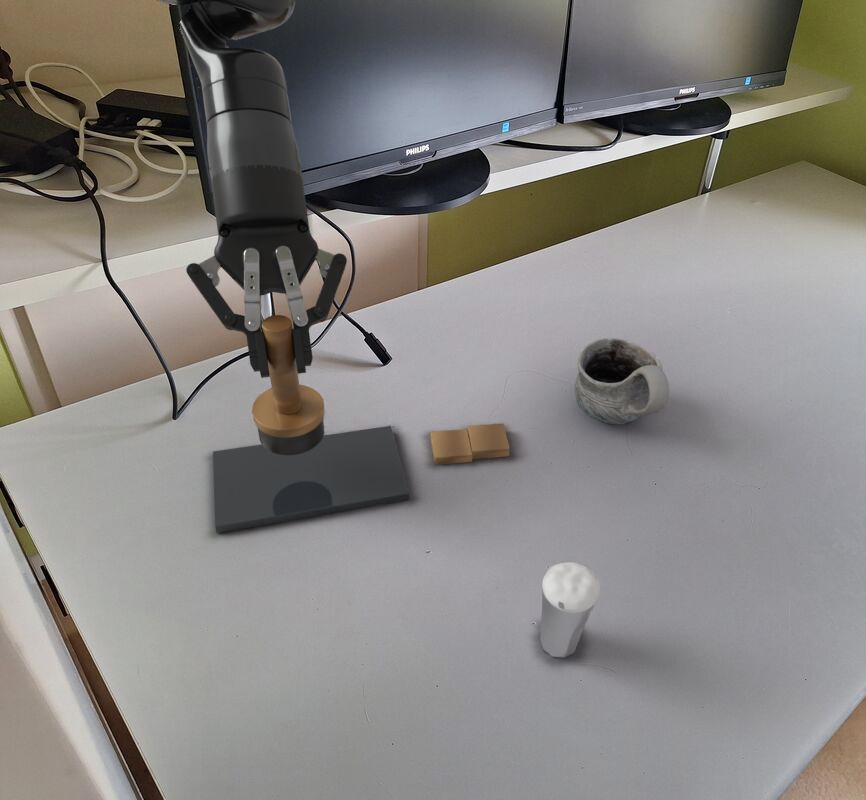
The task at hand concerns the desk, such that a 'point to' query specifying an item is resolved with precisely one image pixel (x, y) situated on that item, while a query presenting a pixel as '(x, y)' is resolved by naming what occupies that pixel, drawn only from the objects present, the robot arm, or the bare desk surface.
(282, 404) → the brush
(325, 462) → the tile
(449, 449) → the chip
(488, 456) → the chip
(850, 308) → the desk surface
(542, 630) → the milkshake
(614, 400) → the mug
